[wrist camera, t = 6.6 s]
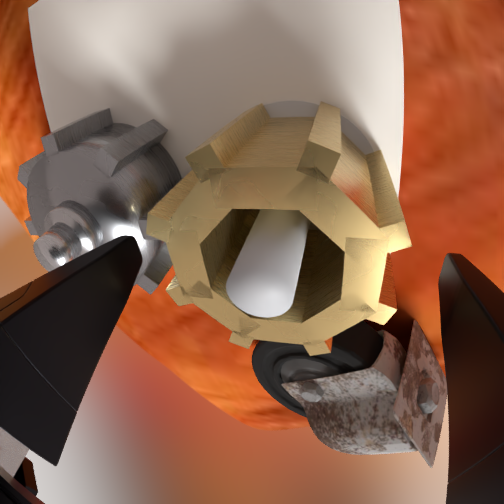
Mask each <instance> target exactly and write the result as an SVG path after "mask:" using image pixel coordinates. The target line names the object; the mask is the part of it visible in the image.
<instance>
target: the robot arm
mask: <svg viewBox="0 0 504 504" xmlns="http://www.w3.org/2000/svg"><path fill="white" fill-rule="evenodd" d="M142 262H143V257H142V254H141V251H140V248H139V246H138V243H137V240H136V238H135V237H134V236H132V235H121V236H119V237H117V238H115V239H113V240H111V241H109V242H107V243H105V244H103V245H101V246H99V247H97V248H95V249H93V250H91V251H89V252H87V253H85V254H83V255H81V256H79V257H77V258H75V259H73V260H71V261H69V262H67V263H65V264H63V265H61V266H59V267H57V268H56V269H54V270H52V271H50V272H48V273H46V274H44V275H43V276H41V277H39V278H37V279H35V280H34V281H32V282H30V283H28V284H26V285H24V286H22V287H21V288H19V289H17V290H15V291H14V292H11V293H10V294H7V295H6V296H4V297H2V298H0V504H45V503H43V502H42V501H41V500H40V499H38V498H37V497H36V495H37V493H38V489H37V485H36V480H35V475H34V469H33V463H32V462H31V461H30V460H29V459H28V458H26V457H25V456H26V454H27V452H28V450H29V449H30V450H31V451H33V452H35V453H36V454H37V455H39V456H40V457H42V458H44V459H45V460H46V461H48V462H50V463H51V464H53V465H54V466H57V464H58V462H59V459H60V456H61V453H62V451H63V448H64V445H65V443H66V440H67V437H68V435H69V432H70V429H71V427H72V424H73V422H74V419H75V416H76V414H77V411H78V408H79V405H80V403H81V401H82V398H83V396H84V394H85V391H86V389H87V387H88V384H89V382H90V380H91V377H92V375H93V373H94V371H95V368H96V366H97V364H98V362H99V359H100V357H101V355H102V353H103V350H104V348H105V346H106V344H107V342H108V340H109V338H110V336H111V333H112V331H113V329H114V327H115V325H116V323H117V321H118V319H119V317H120V315H121V313H122V311H123V309H124V307H125V305H126V303H127V300H128V298H129V295H130V293H131V290H132V288H133V285H134V283H135V280H136V278H137V275H138V273H139V270H140V268H141V266H142ZM438 287H439V300H440V316H441V336H442V345H443V353H444V361H445V371H446V382H447V395H448V412H449V413H448V414H449V468H448V485H447V497H446V504H504V293H503V292H502V291H501V290H500V289H499V288H498V287H497V286H496V285H495V284H494V283H493V282H492V281H491V280H490V279H488V278H487V277H486V276H485V275H484V274H483V273H482V272H481V271H480V270H479V269H478V268H476V267H475V266H474V265H473V264H472V263H471V262H470V261H469V260H467V259H466V258H465V257H464V256H463V255H461V254H456V253H448V254H447V255H446V257H445V259H444V263H443V266H442V270H441V273H440V277H439V283H438Z"/></svg>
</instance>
